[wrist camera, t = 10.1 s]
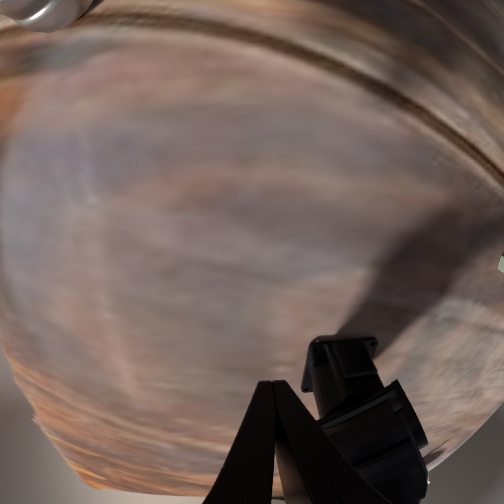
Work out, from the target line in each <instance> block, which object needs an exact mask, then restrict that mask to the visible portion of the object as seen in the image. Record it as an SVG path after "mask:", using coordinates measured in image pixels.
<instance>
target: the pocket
mask: <svg viewBox="0 0 504 504" xmlns="http://www.w3.org/2000/svg"><path fill="white" fill-rule="evenodd" d="M497 269H499V270H500V271H501V272H503V273H504V256H501V258H500V262H499V265H498V268H497Z"/></svg>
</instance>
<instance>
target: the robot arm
mask: <svg viewBox="0 0 504 504" xmlns="http://www.w3.org/2000/svg"><path fill="white" fill-rule="evenodd" d="M372 342H373V343H372ZM377 344H378V341H377V339H376V338H375V337H369V338H360V339H350V340H340V341H327V342H315V343H312V344H310V345H309V348H308V353H307V359H306V364H305V369H304V374H303V379H302V384H301V391H302V392H304V393H307V392H313V393H314V397H315V401H316V405H317V409H318V413H319V417H320V419H319V420H315V419H314V417H313V416H312V415H311V414H310V412H309V411H308V410H307V408H306V407H305V406H304V404H303V403H302V402H301V400H300V399H299V398H298V396H297V395H296V394H295V392H294V391H293V389H292V388H291V387H290V385H289V384H288V383H287V381H285V380H274V381H270V380H268V381H259V382H258V384H257V387H256V389H255V392H254V394H253V397H252V399H251V402H250V404H249V406H248V409H247V411H246V414H245V416H244V419H243V421H242V423H241V426H240V428H239V430H238V433H237V435H236V437H235V440H234V442H233V444H232V447H231V449H230V451H229V453H228V456H227V458H226V460H225V462H224V464H223V467H222V468H221V471H220V473H219V475H218V477H217V479H216V481H215V483H214V485H213V487H212V489H211V490H210V492H209V494H208V495H207V497H206V498H205V500H204V501H203V503H202V504H271V499H272V486H273V472H274V457H275V455H276V459H277V464H278V469H279V474H280V479H281V484H282V488H283V493H284V498H285V502H286V504H420V501H421V499H423V498H424V497H425V495H426V491H427V486H428V482H427V479H428V475H429V474H428V471H427V468H426V465H425V463H424V460H423V458H422V455H421V453H420V451H419V449H421V448H424V447H425V446H427V445H428V441H427V438H426V435H425V433H424V430H423V428H422V426H421V423H420V421H419V419H418V417H417V415H416V413H415V411H414V409H413V407H412V405H411V403H410V402H409V400H408V398H407V396H406V394H405V392H404V391H403V389H402V387H401V385H400V383H399V382H398V380H397V379H396V380H395V381H393V382H391V383H392V384H390V385H388V386H386V387H385V388H384V385H383V383H382V381H381V379H380V377H379V375H378V373H377V372H378V370H377V368H376V366H375V364H374V362H373V360H372V358H373V355H374V353H375V350H376V347H377ZM313 348H315V349H313Z"/></svg>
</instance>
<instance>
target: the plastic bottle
mask: <svg viewBox="0 0 504 504" xmlns="http://www.w3.org/2000/svg"><path fill="white" fill-rule="evenodd" d="M93 1H94V0H0V14H3V15H5V16H7V17H9V18H12V19H13V20H14V21H15V22H17V23H18V24H19V25H21V26H23V27H24V28H26V29H28V30H30V31H32V32H46V33H50V32H55V31H57V30H60V29H62V28H64V27H66V26H68V25H70V24H71V23H73V22H74V21H76V20H77V19H78V18H79V17H80V16H82V15H83V13H84V12H85V11H86V10H87V9H88V8H89V7H90V5H91V4H92V2H93Z"/></svg>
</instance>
